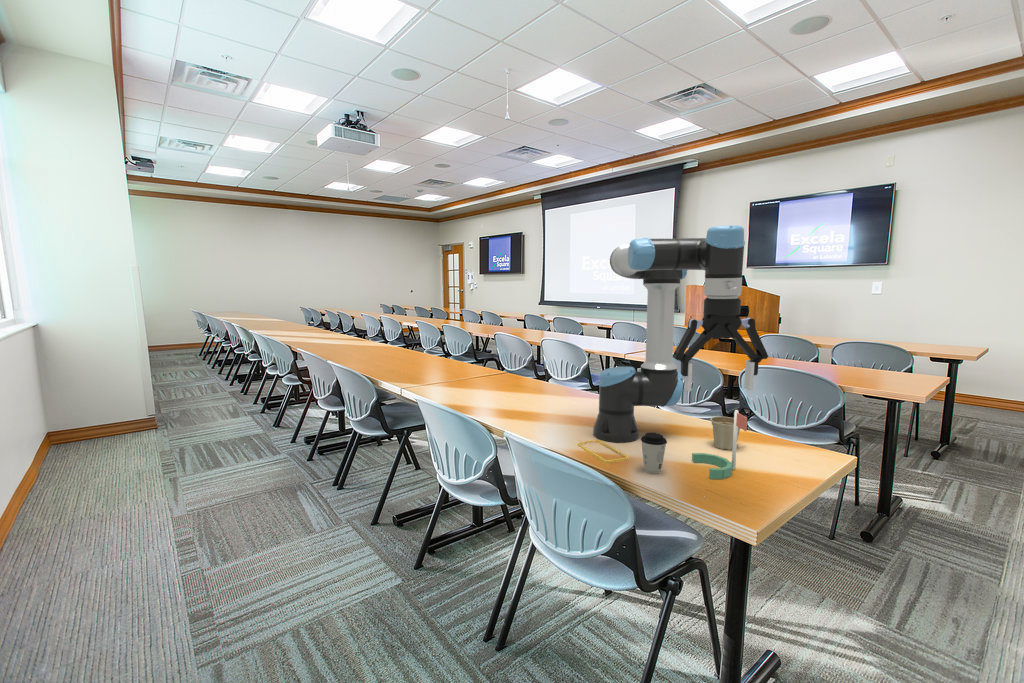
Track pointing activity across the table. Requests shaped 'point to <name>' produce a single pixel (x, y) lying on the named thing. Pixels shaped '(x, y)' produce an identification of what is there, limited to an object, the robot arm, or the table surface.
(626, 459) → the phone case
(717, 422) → the flower pot
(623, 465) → the table surface
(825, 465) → the table surface
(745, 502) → the table surface
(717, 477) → the cup ring
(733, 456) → the flag
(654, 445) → the coffee cup
